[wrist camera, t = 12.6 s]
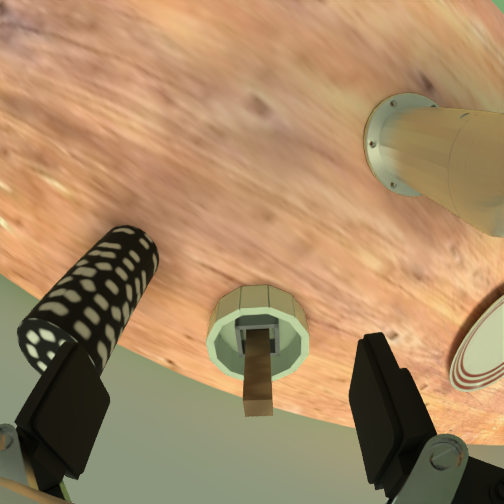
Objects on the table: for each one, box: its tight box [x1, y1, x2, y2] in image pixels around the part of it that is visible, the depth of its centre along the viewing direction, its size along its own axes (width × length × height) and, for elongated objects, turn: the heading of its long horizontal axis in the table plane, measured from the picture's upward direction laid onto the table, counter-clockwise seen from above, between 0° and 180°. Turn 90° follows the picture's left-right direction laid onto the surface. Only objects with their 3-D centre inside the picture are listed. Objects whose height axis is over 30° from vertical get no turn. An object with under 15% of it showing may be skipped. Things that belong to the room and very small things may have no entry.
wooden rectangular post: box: [243, 328, 273, 417], centre depth 37 cm, size 3×3×14 cm
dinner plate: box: [450, 295, 504, 392], centre depth 45 cm, size 28×27×3 cm
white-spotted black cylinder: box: [17, 225, 159, 377], centre depth 30 cm, size 8×8×20 cm
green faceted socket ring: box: [206, 285, 309, 381], centre depth 42 cm, size 13×13×5 cm
